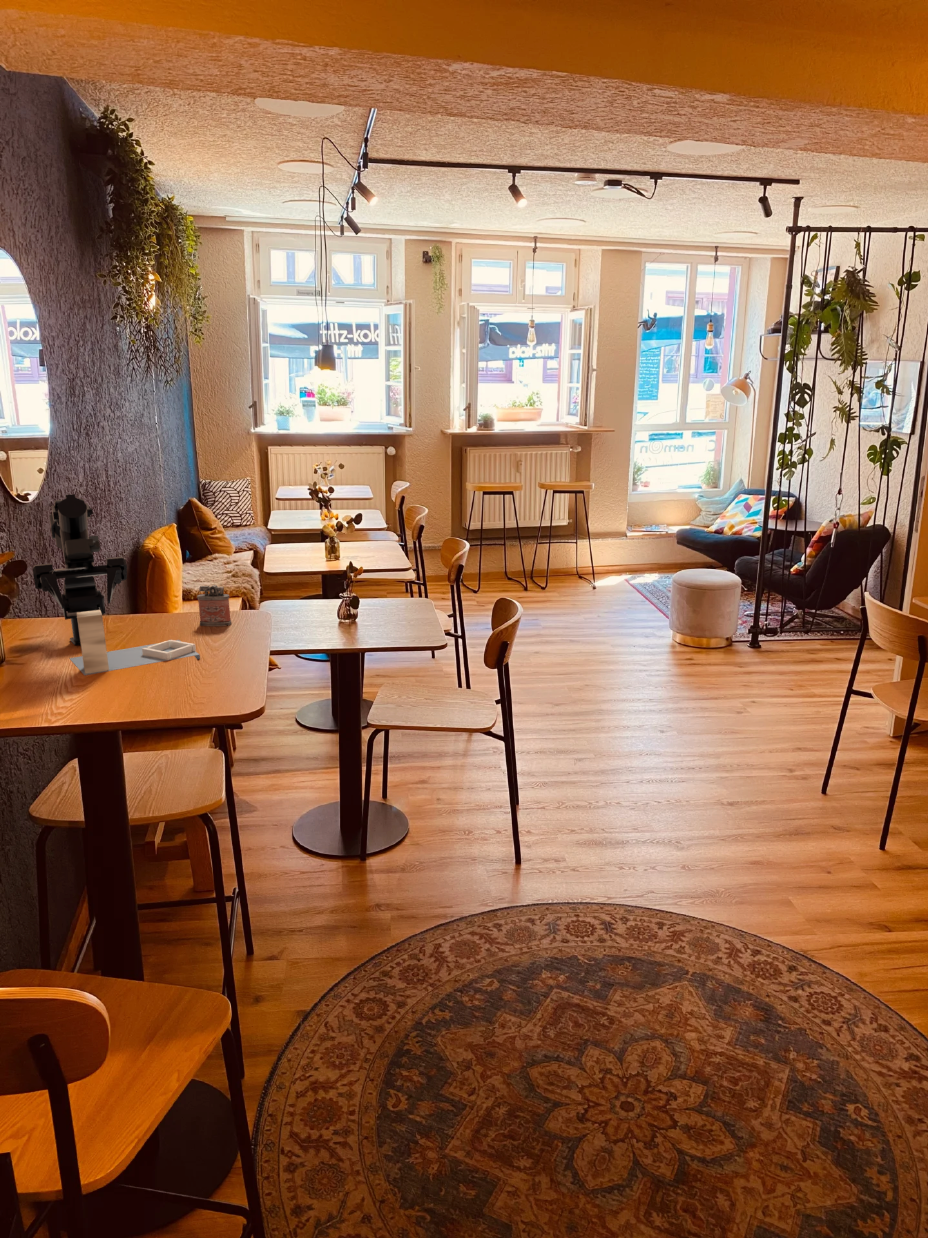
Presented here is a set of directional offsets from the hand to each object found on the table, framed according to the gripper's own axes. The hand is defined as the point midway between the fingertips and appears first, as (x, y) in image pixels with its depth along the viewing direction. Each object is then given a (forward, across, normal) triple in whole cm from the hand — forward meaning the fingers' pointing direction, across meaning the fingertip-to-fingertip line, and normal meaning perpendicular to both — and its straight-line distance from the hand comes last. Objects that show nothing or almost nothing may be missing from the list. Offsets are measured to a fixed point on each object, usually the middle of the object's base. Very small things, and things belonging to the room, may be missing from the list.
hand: (86, 604), depth 193 cm
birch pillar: (+14, 0, +3) cm, 14 cm away
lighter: (-6, +30, +25) cm, 39 cm away
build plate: (+11, +8, +8) cm, 16 cm away
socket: (+11, +16, +7) cm, 21 cm away
